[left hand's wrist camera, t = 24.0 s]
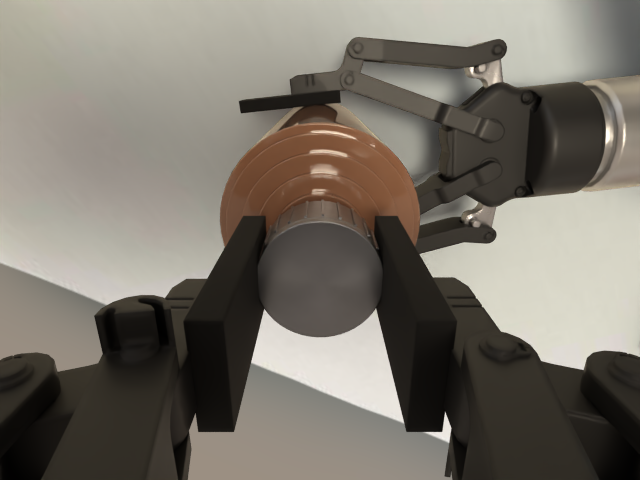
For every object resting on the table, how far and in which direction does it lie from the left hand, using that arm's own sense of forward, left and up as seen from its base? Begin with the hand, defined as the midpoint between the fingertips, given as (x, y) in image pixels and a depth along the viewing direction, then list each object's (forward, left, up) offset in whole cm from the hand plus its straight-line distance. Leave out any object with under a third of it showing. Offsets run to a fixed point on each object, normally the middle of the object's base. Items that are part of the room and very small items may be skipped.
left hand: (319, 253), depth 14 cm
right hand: (-4, -2, -16) cm, 17 cm away
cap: (0, 0, +2) cm, 2 cm away
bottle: (0, 0, -22) cm, 22 cm away
